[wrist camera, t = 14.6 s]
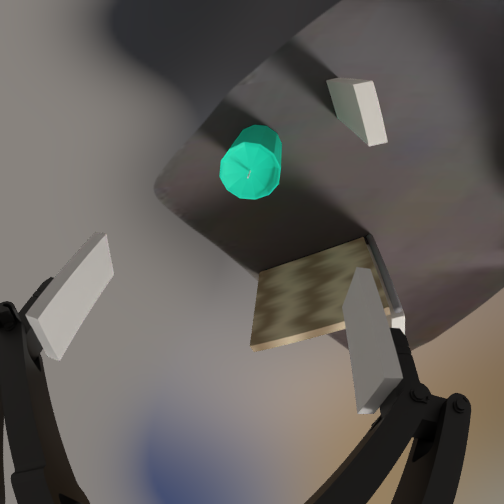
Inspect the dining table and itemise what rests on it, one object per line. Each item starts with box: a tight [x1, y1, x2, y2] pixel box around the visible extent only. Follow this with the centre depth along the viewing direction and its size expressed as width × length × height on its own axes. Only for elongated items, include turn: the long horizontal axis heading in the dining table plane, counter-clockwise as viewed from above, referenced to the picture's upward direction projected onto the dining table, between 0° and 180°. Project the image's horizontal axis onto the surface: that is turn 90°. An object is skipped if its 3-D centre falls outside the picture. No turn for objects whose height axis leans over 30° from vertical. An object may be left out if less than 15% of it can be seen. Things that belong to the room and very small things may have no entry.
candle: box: [220, 125, 282, 200], centre depth 33 cm, size 6×6×12 cm
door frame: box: [326, 78, 405, 335], centre depth 33 cm, size 2×31×15 cm, turn 19°
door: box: [250, 237, 391, 352], centre depth 40 cm, size 17×3×15 cm, turn 116°
